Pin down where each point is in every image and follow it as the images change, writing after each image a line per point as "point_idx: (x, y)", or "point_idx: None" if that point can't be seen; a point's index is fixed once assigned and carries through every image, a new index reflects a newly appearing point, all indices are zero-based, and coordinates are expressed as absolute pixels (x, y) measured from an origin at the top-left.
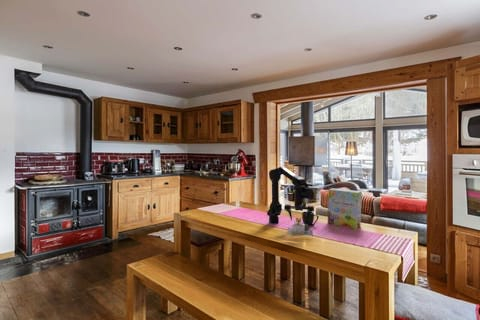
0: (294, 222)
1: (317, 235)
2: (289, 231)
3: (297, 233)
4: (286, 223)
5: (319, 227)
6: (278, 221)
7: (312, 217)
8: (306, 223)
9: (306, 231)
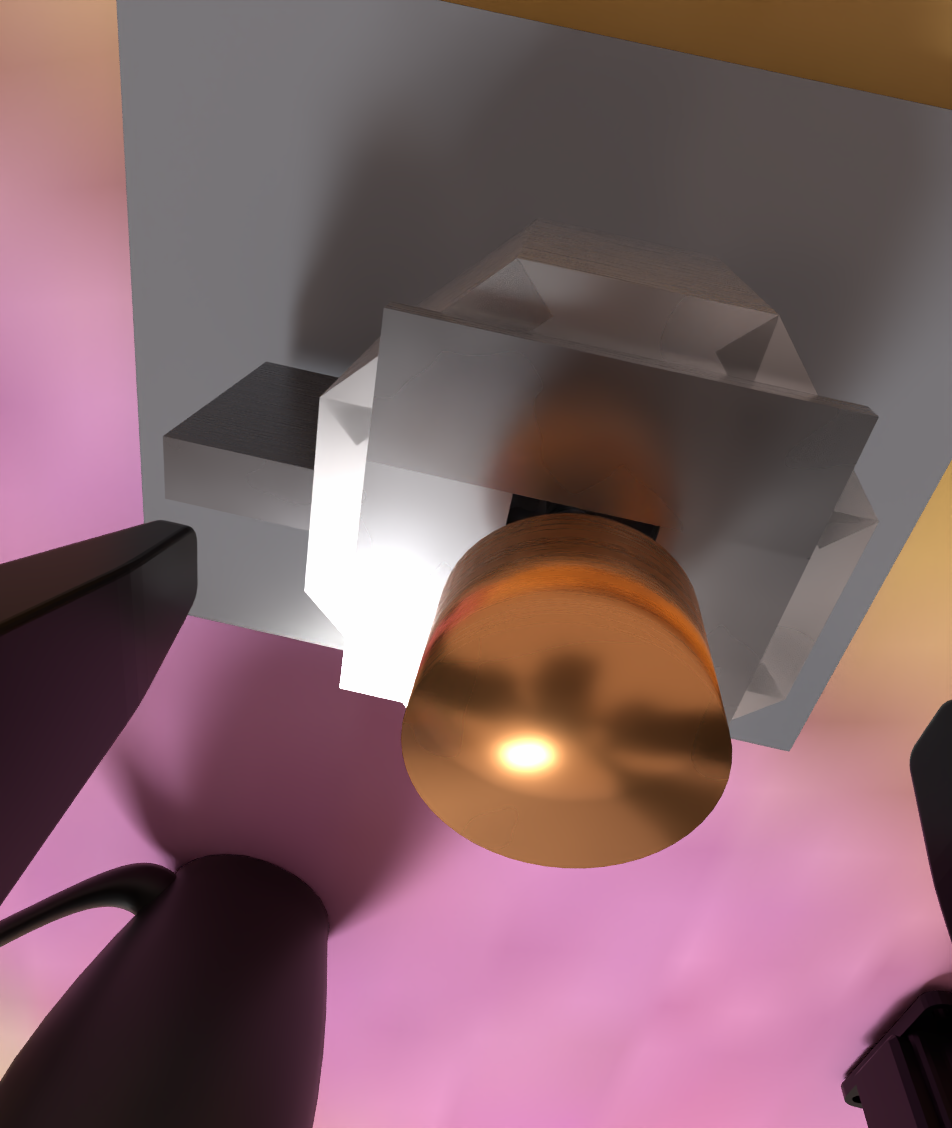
0: None
1: (5, 166)
2: (890, 425)
3: (672, 188)
4: (667, 1042)
5: None
6: (905, 1085)
7: (24, 1063)
8: (255, 923)
9: None
